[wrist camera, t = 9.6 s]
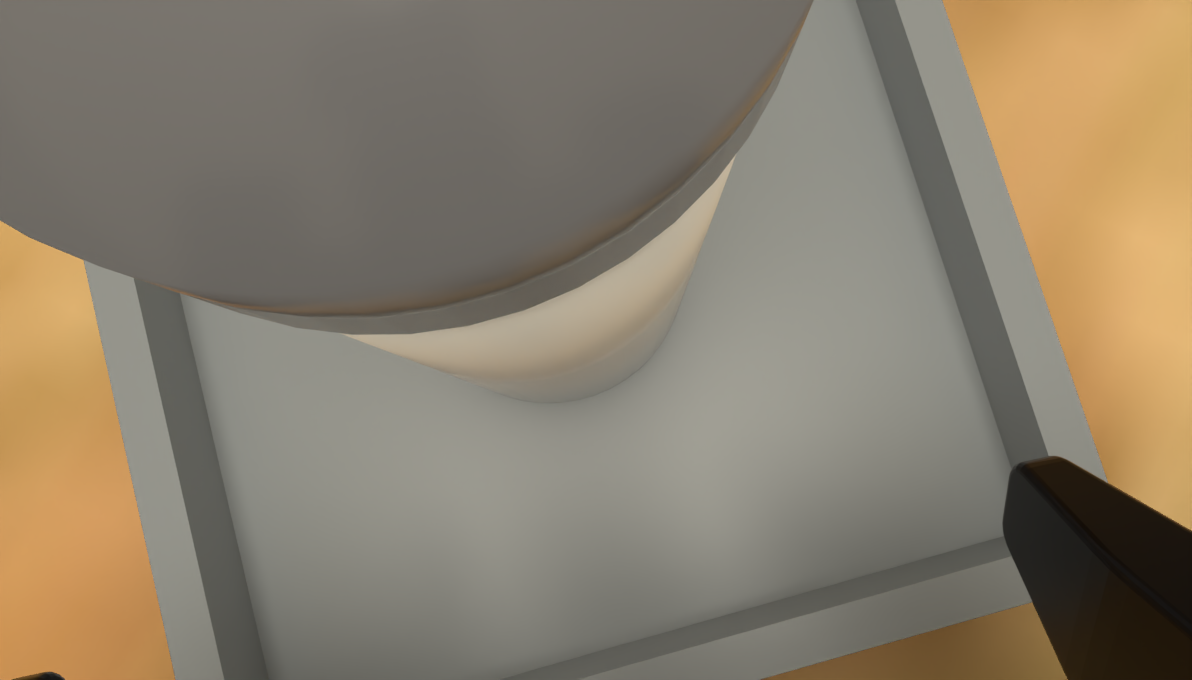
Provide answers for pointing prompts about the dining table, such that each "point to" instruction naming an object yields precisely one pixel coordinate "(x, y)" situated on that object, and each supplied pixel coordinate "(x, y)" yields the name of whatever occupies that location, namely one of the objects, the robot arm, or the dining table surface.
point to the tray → (637, 429)
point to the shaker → (396, 163)
